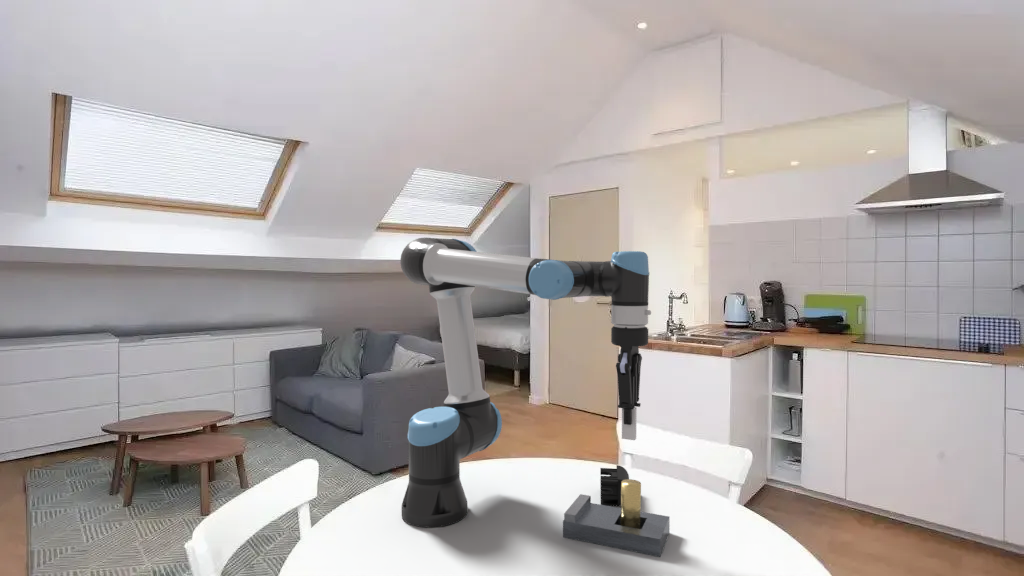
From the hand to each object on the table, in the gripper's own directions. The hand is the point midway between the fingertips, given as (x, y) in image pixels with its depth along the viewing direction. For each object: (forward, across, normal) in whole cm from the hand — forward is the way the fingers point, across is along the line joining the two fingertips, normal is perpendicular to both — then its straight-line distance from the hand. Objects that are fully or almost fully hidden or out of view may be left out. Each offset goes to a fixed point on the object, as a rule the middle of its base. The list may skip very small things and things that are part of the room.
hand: (629, 438), depth 115 cm
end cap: (+21, +18, +8) cm, 29 cm away
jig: (+21, 0, +2) cm, 21 cm away
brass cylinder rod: (+19, 0, 0) cm, 19 cm away
